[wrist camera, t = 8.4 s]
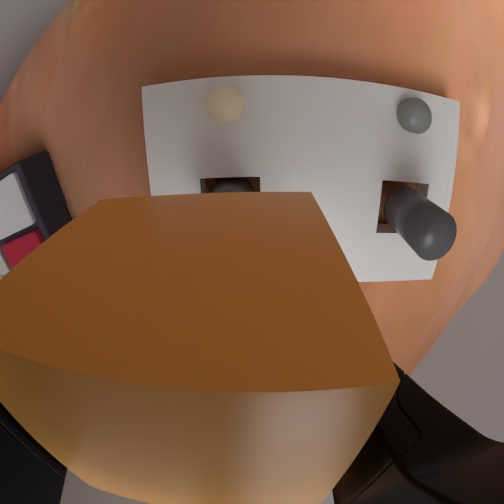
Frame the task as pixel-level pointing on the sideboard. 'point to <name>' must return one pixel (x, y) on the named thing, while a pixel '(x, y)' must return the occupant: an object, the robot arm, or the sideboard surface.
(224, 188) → the lever
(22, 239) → the calculator
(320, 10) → the sideboard surface
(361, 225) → the panel
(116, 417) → the light orange cube
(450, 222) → the breaker
